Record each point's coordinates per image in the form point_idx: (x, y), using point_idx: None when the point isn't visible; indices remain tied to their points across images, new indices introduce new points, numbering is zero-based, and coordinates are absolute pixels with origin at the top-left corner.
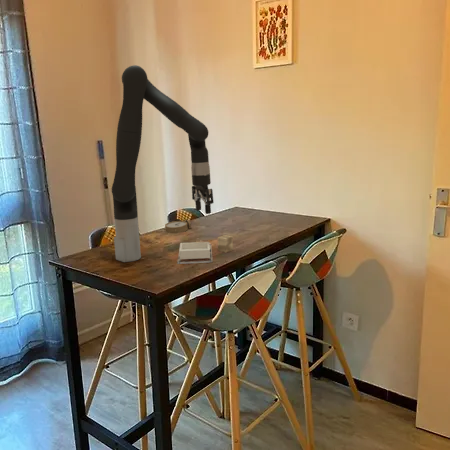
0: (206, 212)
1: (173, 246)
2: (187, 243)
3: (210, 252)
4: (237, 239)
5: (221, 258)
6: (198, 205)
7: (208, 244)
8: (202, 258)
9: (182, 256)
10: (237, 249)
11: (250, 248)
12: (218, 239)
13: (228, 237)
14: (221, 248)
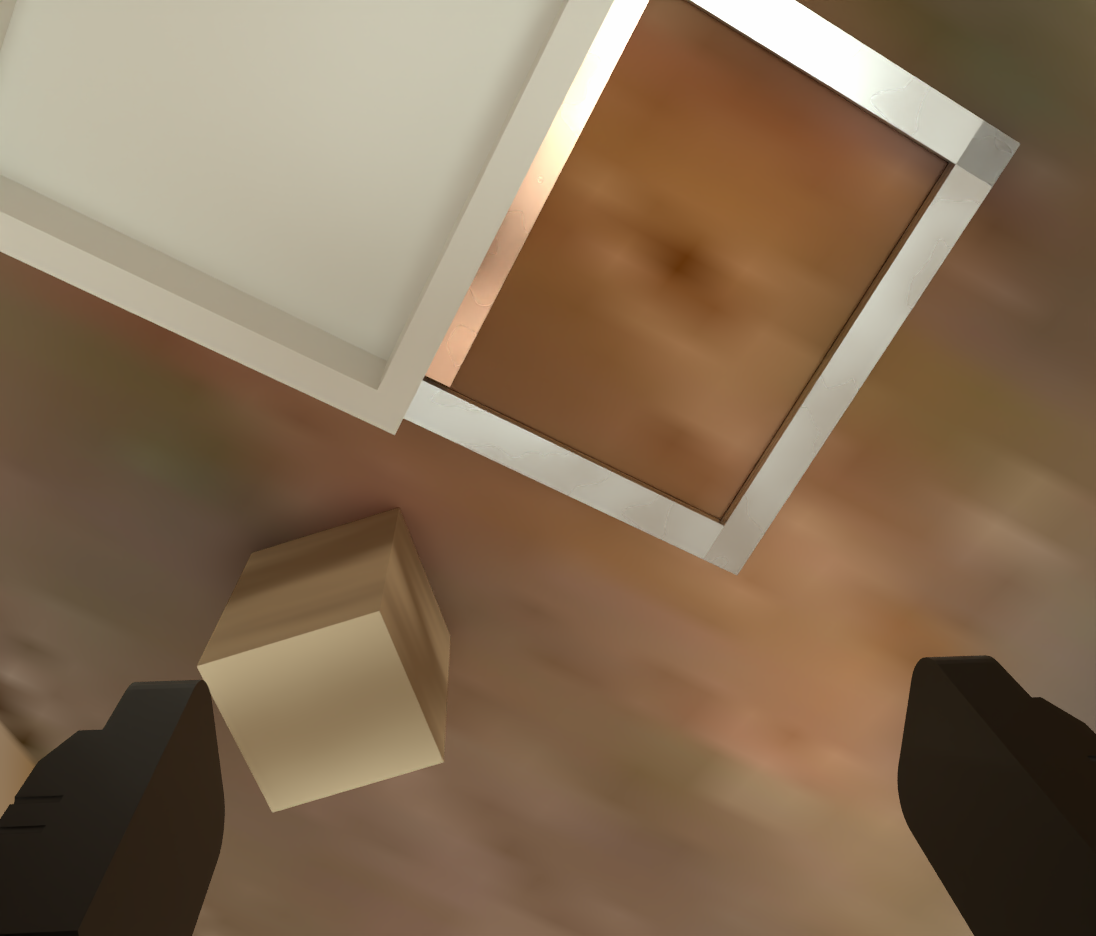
0: (119, 712)
1: (1081, 34)
2: (549, 39)
3: None
4: (721, 925)
5: (10, 372)
6: (1001, 849)
7: (231, 340)
8: None
9: None
10: None
11: (260, 871)
12: (361, 598)
13: (258, 742)
14: (324, 550)
